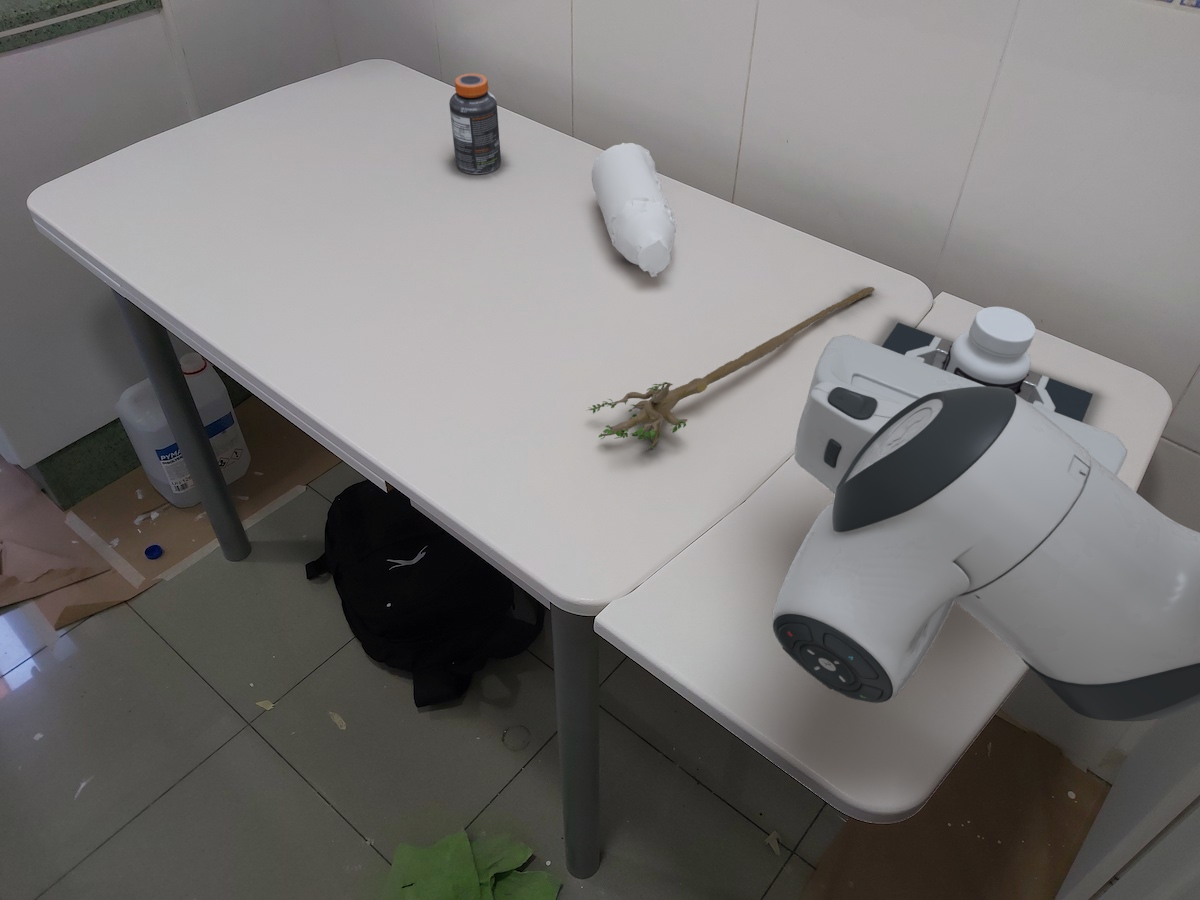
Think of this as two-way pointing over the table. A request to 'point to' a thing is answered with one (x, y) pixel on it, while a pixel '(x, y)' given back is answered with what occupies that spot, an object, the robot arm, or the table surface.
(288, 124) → the table surface
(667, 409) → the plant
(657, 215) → the white bottle
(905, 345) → the mat
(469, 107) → the pill bottle
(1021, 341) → the pill bottle
